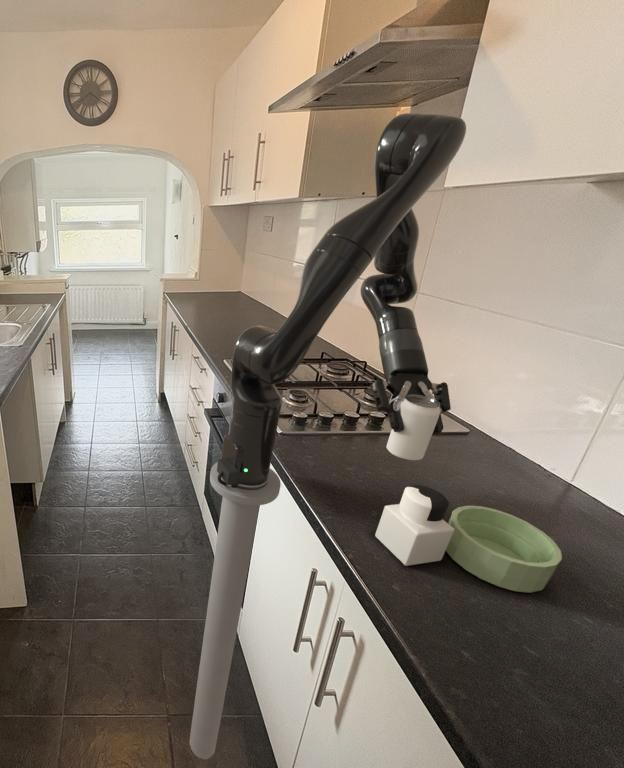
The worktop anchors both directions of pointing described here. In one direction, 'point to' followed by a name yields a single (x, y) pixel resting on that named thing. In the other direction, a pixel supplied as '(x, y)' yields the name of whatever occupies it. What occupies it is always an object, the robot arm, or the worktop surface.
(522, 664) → the worktop surface
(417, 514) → the medicine bottle
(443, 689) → the worktop surface
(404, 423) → the can
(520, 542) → the shallow round dish
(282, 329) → the robot arm
